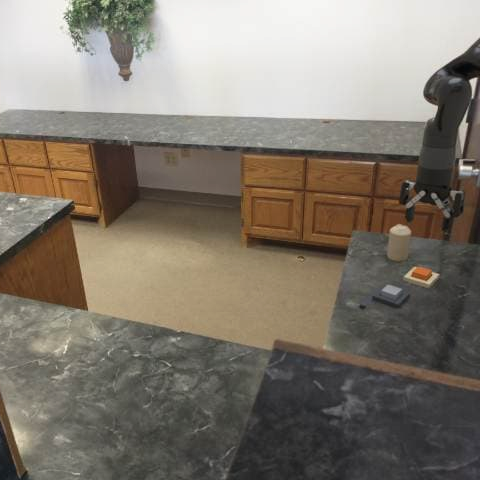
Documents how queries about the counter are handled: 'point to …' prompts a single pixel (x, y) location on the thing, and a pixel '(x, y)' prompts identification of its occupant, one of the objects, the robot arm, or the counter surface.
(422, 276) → the key
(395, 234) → the candle
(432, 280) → the keypad
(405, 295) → the keypad
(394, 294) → the key
